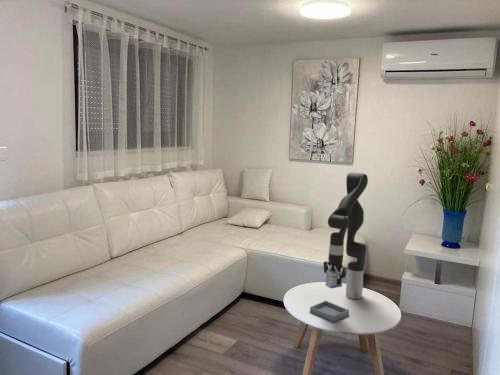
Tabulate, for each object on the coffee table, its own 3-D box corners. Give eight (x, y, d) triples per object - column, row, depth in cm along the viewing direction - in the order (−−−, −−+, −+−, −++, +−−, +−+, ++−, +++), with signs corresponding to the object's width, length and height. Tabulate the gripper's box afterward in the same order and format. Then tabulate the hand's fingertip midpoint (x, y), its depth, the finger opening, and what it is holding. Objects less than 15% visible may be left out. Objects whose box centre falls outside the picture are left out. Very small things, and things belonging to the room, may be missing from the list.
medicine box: (330, 288, 210) (331, 272, 209) (325, 285, 214) (326, 270, 213) (342, 286, 214) (343, 271, 212) (337, 283, 218) (338, 268, 216)
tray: (325, 305, 227) (325, 300, 226) (348, 315, 216) (349, 310, 215) (309, 312, 218) (310, 306, 217) (333, 322, 206) (334, 317, 206)
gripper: (351, 254, 209) (349, 285, 211) (329, 248, 219) (326, 277, 221) (343, 257, 204) (341, 289, 206) (320, 250, 214) (318, 280, 216)
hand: (333, 283), depth 214 cm, fingers closed on medicine box, 5 cm apart
